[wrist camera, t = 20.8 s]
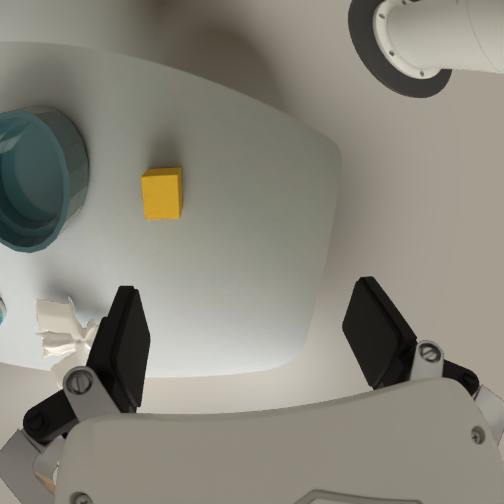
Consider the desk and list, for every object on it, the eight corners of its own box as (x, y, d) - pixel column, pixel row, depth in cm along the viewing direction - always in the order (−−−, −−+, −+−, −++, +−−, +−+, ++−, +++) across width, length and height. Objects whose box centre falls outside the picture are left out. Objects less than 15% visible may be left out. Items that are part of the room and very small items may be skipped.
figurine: (106, 286, 46) (39, 298, 39) (101, 287, 36) (19, 301, 29) (125, 364, 45) (60, 376, 39) (127, 384, 35) (47, 397, 29)
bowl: (29, 82, 21) (2, 84, 16) (116, 156, 28) (97, 168, 23) (-16, 186, 26) (-39, 201, 20) (57, 253, 33) (39, 276, 28)
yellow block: (151, 208, 32) (145, 219, 29) (148, 168, 30) (140, 176, 27) (183, 207, 33) (179, 218, 30) (181, 167, 30) (177, 174, 27)
